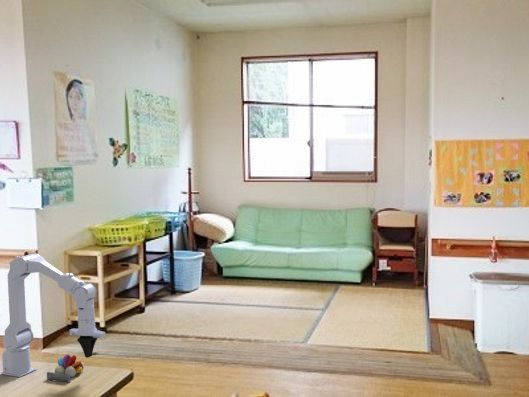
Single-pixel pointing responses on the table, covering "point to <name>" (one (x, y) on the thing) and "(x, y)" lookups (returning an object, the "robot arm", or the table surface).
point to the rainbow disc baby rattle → (69, 366)
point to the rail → (58, 377)
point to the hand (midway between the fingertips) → (88, 356)
